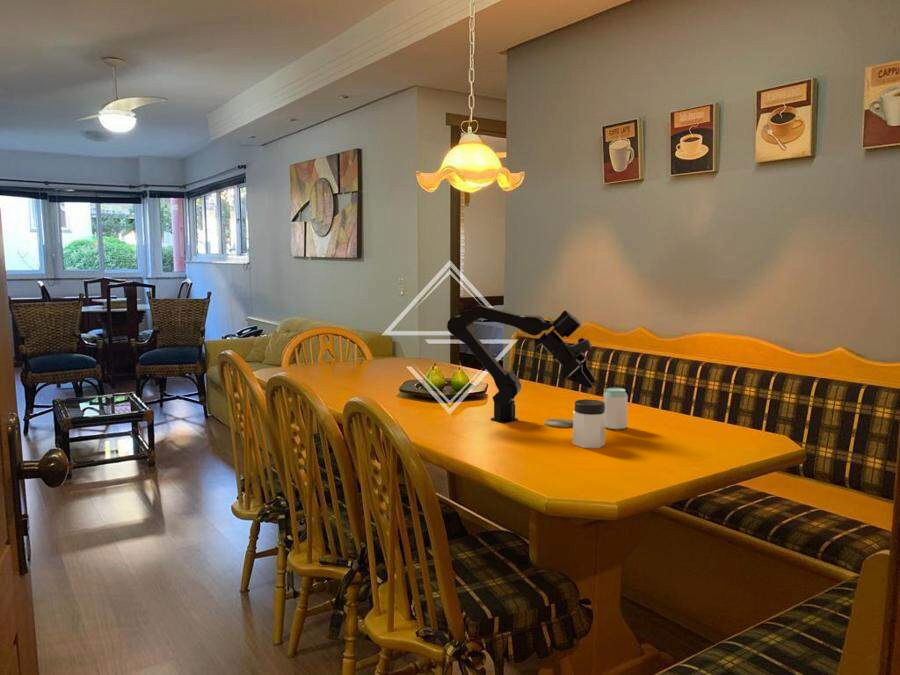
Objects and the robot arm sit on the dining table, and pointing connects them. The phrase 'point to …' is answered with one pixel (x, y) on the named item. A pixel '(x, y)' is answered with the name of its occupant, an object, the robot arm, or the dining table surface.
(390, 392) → the dining table surface
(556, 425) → the coaster
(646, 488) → the dining table surface
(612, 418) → the can
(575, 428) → the jar
